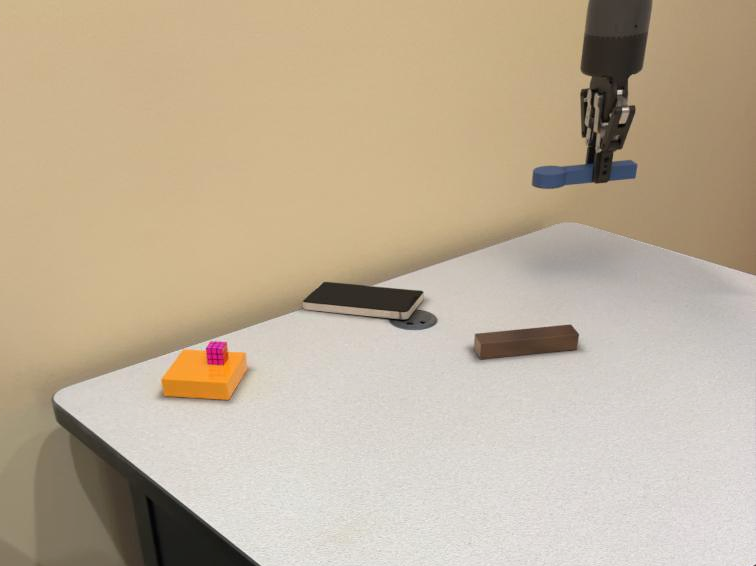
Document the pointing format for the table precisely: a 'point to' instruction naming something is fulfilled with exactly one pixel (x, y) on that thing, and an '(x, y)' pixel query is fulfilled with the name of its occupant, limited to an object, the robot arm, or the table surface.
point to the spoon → (579, 174)
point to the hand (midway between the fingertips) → (596, 178)
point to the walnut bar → (526, 341)
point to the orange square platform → (205, 373)
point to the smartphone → (364, 300)
